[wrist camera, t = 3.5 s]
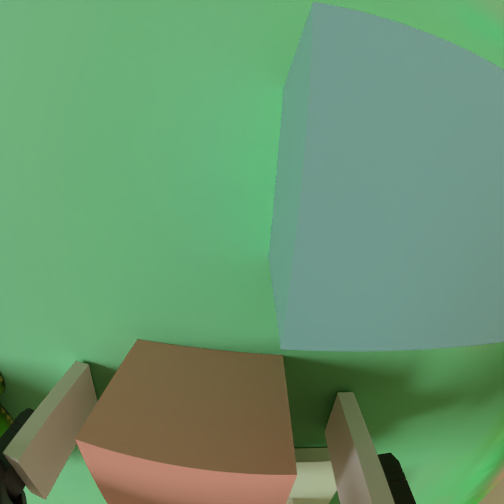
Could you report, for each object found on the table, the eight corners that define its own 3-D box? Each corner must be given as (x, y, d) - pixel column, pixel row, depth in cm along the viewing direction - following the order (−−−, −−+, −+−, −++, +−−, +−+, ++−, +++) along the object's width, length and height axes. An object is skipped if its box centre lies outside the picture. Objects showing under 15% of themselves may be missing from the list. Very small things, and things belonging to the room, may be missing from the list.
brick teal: (283, 88, 10) (313, 1, 4) (434, 119, 10) (548, 99, 4) (268, 257, 11) (280, 349, 5) (417, 269, 11) (513, 340, 5)
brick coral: (138, 338, 12) (74, 439, 6) (282, 354, 12) (297, 474, 6) (151, 431, 14) (119, 522, 8) (266, 446, 14) (268, 544, 8)
